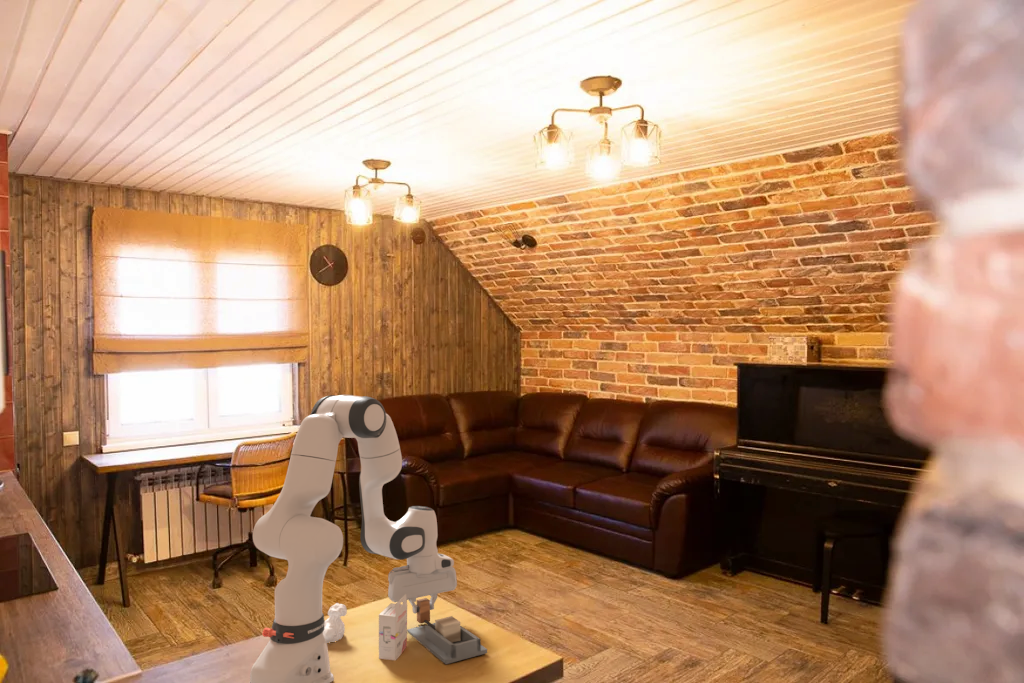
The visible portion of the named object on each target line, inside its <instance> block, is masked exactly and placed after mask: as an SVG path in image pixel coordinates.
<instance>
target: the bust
mask: <svg viewBox="0 0 1024 683" xmlns="http://www.w3.org/2000/svg"><path fill="white" fill-rule="evenodd" d="M347 613H348V609H347V606H346V605H345V604H343V603H340V602H335V604H333V605H331V606H330V607H329V609H328V610H327V616H328V618H327V619H325V624H324V631H323V635H324V638H325V641H326V643H329V642H335V641H337V642H339V641H340V640H341V639H342V638H343V637H344V634H345V629H346V628H345V623H344V621H343V620H342V618H341V617H345V616H346V615H347ZM339 639H340V640H339ZM335 643H336V642H335ZM329 644H330V643H329Z"/></svg>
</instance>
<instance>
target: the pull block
mask: <svg viewBox="0 0 1024 683" xmlns="http://www.w3.org/2000/svg"><path fill="white" fill-rule="evenodd" d="M416 605H418V606H419V607H420V609H419V610H420V612H419V613H416V621H417V622H418V623H419V624H424V623H425V625H429V626H430V627H431V628H433V629H434V630H435V631H437V632H438V633H439V634H441V635H442V636H443V637H445V638H446V639H447V640H449V641H450V642H451V643H453V642H457V641H461V630H460V626H461V621H460V620H459V619H456V618H455V617H453V615H451V616H447V617H442V618H439V619H435V620H434V621H435V622H434V623H435V626H434V625H433V624H432V623H431V622H430V621H431V610H430V599H428V598H427V597H423V598H420V599H416Z"/></svg>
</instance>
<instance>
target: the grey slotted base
mask: <svg viewBox="0 0 1024 683" xmlns="http://www.w3.org/2000/svg"><path fill="white" fill-rule="evenodd" d="M431 624H433V625H434V626H435V622H433V623H431ZM460 630H461V641H457V642H453V643H451V642H450V641H449V640H447V639H446V638H445V637H443V636H442V635H441V634H439V633H438V632H437V631H435V630H434V629H433V628H431V627H430V626H429V625H427V624H425V625H424V624H423V625H420V626H418V627H411V628H407V634H410V635H411V636H412V637H413V638H414V639H415V640H417V642H419V643H420V644H421V645H422V646H424V647H423V648H425V649H427V651H428V652H430V653H431V654H432V655H434V657H436V658H437V659H438V660H440V661H441V662H442V663H443V664H445V665H449V664H452V663H456V662H459V661H460V662H461V661H463V660H467V659H470V658H474V657H477V656H482V655H485V654H487V653H488V648H486V647H485V646H484V645H482V643H481V639H482V638H480V637H478V636H477V635H475V634H473V632H470V631H469V629H466V628H465V627H464V626H462V625H460Z"/></svg>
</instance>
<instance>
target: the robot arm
mask: <svg viewBox="0 0 1024 683" xmlns="http://www.w3.org/2000/svg"><path fill="white" fill-rule="evenodd" d="M343 438H346V439H347V438H349V439H350V438H351V439H353V438H354V439H355V440H356V442H357V448H358V449H357V450H358V454H359V459H360V473H359V477H358V478H359V479H358V480H359V481H358V486H359V499H360V510H361V511H360V512H361V528H360V535H359V536H360V543H361V546H362V548H363V549H364V550H365V551H366V552H368V553H369V554H372V555H373V554H374V555H380V556H383V557H386V558H391V559H394V560H401V561H402V560H406V565H403V566H399V567H398V566H397V567H393V568H392V569H391V570H390V571H389V573H388V578H387V580H388V589H387V590H388V591H387V592H388V593H387V595H388V599H389V600H391V602H392V603H397V602H398V601H399V600H400V599H401V598H402V597H403V596H404V595H405V594H406V597H407V601H409V603H410V605H411V606H412V613H413V614H417V613H419V612H420V610H419V609H420V607H419V606H418V605H417V599H418V598H422V597H423V598H424V597H427V596H430V599H429V600H430V611H432V610H434V609H435V603H436V601H437V598H438V594H441V593H445V592H447V593H448V592H451V591H454V590H456V588H457V586H458V581H457V571H456V568H455V567H454V566H455V560H454V559H453V558H451V557H450V556H448V555H446V554H444V553H439V550H438V547H437V541H438V536H439V534H438V522H437V521H438V520H437V515H436V512H435V510H434V509H433V508H431V507H428V506H422V505H412V506H409V507H408V509H407V511H406V513H405V514H404V515H403V516H402V517H401V518H400V519H398V520H396V521H393V520H390V519H388V517H387V516H386V515H385V512H384V504H383V503H384V502H383V486H384V485H386V484H387V483H389V482H391V481H393V480H394V479H396V478H397V477H398V476H399V474H400V473H401V470H402V467H403V457H402V452H401V446H400V442H399V438H398V434H397V431H396V428H395V426H394V422H393V421H392V417H391V416H390V415H389V414H388V413H387V412H386V410H385V407H384V405H383V404H382V403H381V402H380V401H379V400H378V399H376V398H374V397H371V396H367V395H366V396H364V395H363V396H360V395H353V394H339V395H335V394H333V395H332V394H331V395H327V396H323V397H322V398H320V399H318V400H317V401H316V402H315V403H314V406H313V407H312V409H311V412H310V413H309V415H307V416H305V418H303V420H302V421H301V422H300V425H299V427H298V430H297V433H296V436H295V439H294V441H293V445H292V448H291V452H290V459H289V463H288V466H287V470H286V475H285V479H284V483H283V486H282V489H281V491H280V493H279V495H278V497H277V499H276V500H275V502H274V504H273V505H272V506H271V508H270V509H269V510H268V512H266V513H265V514H263V515H262V516H261V517H260V518H259V519H257V521H256V522H255V525H254V527H253V530H252V542H253V545H254V546H255V548H256V549H258V550H259V551H260V552H262V553H264V554H265V555H267V556H269V557H272V558H276V559H280V560H285V561H287V563H288V566H287V567H288V568H287V572H286V576H285V577H284V578H283V579H281V580H280V581H279V582H278V583H277V585H276V586H275V588H274V619H273V622H272V626H271V627H270V628H269V627H264V628H263V630H262V636H263V637H265V638H267V637H268V638H269V641H268V642H267V644H266V645H265V647H264V649H263V650H262V651H261V653H260V655H259V656H258V658H257V659H256V660H255V662H254V663H253V665H252V667H251V669H250V675H249V683H332V682H334V681H335V679H334V678H335V677H334V674H333V673H332V672H331V667H330V666H331V664H330V656H329V651H328V650H329V648H328V644H327V643H326V641H325V638H324V635H323V631H324V624H325V621H326V619H325V614H324V613H323V586H324V580H325V576H326V573H327V570H328V568H329V566H330V565H331V564H332V563H333V562H334V561H336V560H337V559H338V557H339V556H340V555H341V552H342V549H343V546H344V535H343V532H342V530H341V529H342V528H340V526H338V525H337V524H336V523H333V522H331V521H329V520H327V519H325V518H322V517H316V516H315V517H314V516H311V515H312V512H313V511H314V509H315V507H316V505H317V504H318V502H319V501H321V500H322V499H324V498H326V497H327V496H328V495H329V493H330V492H331V488H332V483H333V477H334V473H335V468H336V462H337V458H338V457H337V456H338V449H339V444H340V442H341V440H342V439H343Z"/></svg>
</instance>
